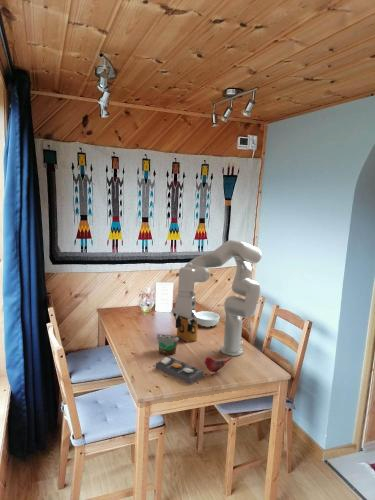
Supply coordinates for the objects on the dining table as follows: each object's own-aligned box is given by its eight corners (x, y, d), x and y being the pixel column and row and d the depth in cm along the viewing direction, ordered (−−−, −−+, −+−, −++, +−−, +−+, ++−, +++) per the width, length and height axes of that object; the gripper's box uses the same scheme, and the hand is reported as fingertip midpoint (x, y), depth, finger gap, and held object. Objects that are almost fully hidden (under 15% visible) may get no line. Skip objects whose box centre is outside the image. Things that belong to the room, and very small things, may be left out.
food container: (152, 353, 201) (153, 336, 200) (157, 349, 207) (158, 332, 205) (173, 358, 197) (174, 340, 195) (177, 354, 203) (178, 336, 201)
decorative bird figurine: (201, 376, 179) (202, 356, 177) (229, 368, 189) (230, 349, 188) (205, 379, 177) (206, 359, 175) (232, 370, 187) (234, 351, 185)
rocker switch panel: (168, 362, 192) (169, 355, 192) (203, 376, 179) (203, 369, 178) (155, 368, 185) (155, 361, 184) (190, 384, 171) (190, 376, 171)
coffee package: (185, 344, 217) (187, 307, 213) (174, 336, 227) (176, 301, 223) (199, 341, 222) (201, 305, 219) (188, 334, 232) (189, 299, 229)
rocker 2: (187, 369, 178) (188, 367, 178) (193, 372, 176) (193, 370, 176) (182, 370, 175) (183, 368, 175) (188, 372, 173) (188, 370, 173)
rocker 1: (166, 358, 186) (166, 357, 186) (171, 360, 184) (170, 359, 184) (160, 362, 184) (160, 361, 183) (165, 365, 182) (165, 363, 181)
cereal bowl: (188, 325, 247) (189, 315, 246) (202, 319, 261) (202, 309, 260) (210, 331, 238) (211, 321, 237) (223, 325, 252) (224, 315, 251)
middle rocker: (176, 365, 182) (177, 363, 182) (181, 367, 180) (182, 365, 180) (171, 365, 179) (172, 363, 179) (176, 367, 177) (177, 365, 177)
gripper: (205, 295, 175) (202, 332, 178) (177, 288, 186) (175, 322, 188) (195, 298, 169) (193, 336, 172) (167, 290, 180) (165, 326, 182)
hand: (183, 328), depth 180 cm, fingers open, 6 cm apart
